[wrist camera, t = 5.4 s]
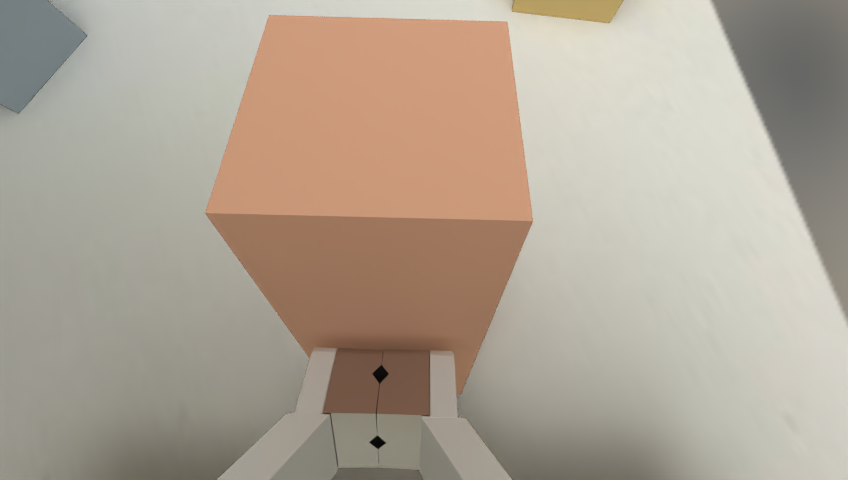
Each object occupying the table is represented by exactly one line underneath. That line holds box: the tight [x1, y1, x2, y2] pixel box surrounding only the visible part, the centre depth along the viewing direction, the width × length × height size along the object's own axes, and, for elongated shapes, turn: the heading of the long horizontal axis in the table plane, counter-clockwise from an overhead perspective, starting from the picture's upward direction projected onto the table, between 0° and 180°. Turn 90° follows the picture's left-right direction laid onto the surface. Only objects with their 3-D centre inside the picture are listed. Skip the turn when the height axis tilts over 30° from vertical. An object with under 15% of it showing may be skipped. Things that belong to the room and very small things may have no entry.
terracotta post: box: [205, 15, 533, 394], centre depth 11 cm, size 4×4×10 cm
